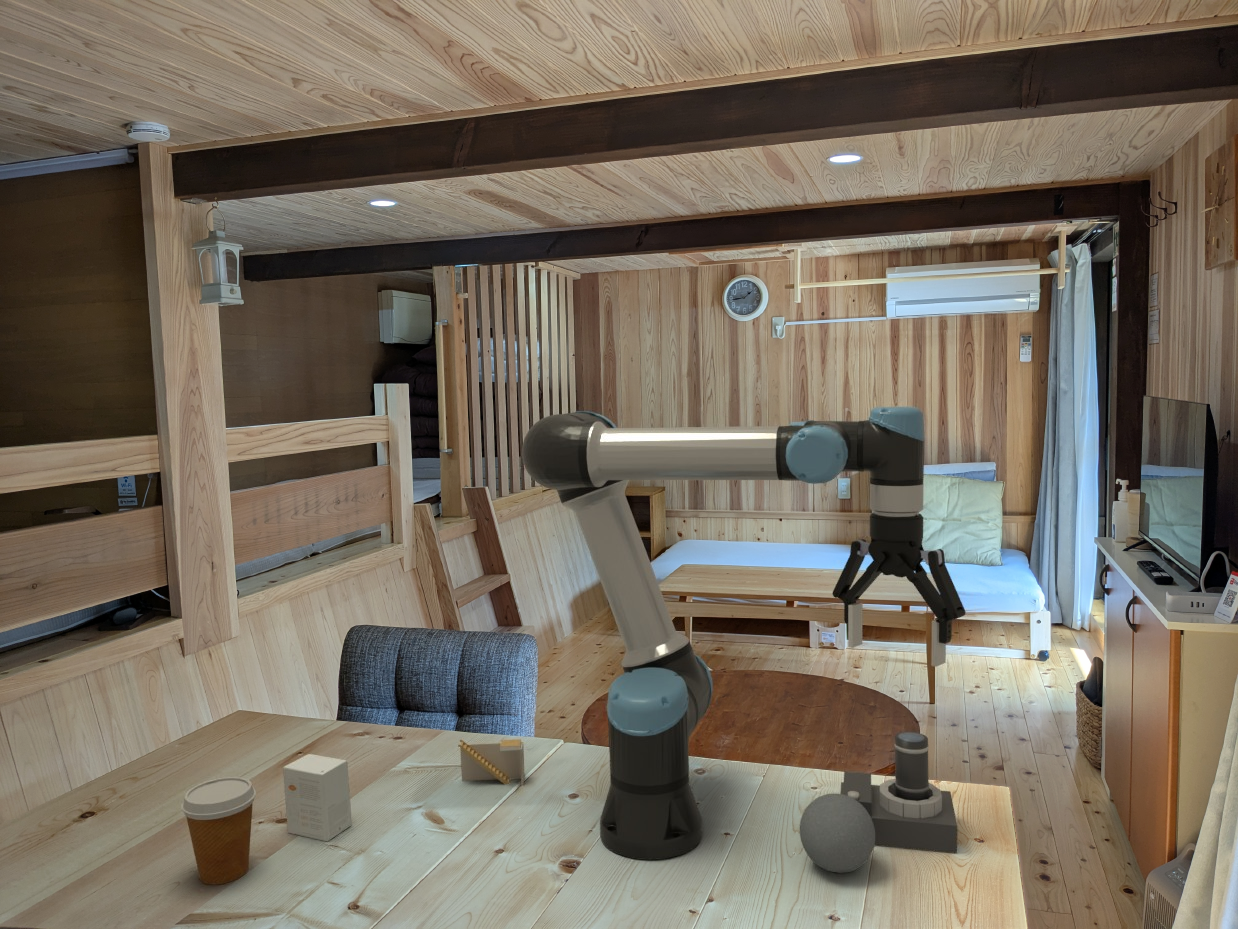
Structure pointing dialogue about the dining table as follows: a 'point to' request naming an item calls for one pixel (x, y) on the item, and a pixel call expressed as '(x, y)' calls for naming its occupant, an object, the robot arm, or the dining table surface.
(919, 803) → the camera body
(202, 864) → the disposable coffee cup
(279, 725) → the dining table surface
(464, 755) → the model
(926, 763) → the lens
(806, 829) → the decorative stone
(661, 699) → the robot arm
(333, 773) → the small box
